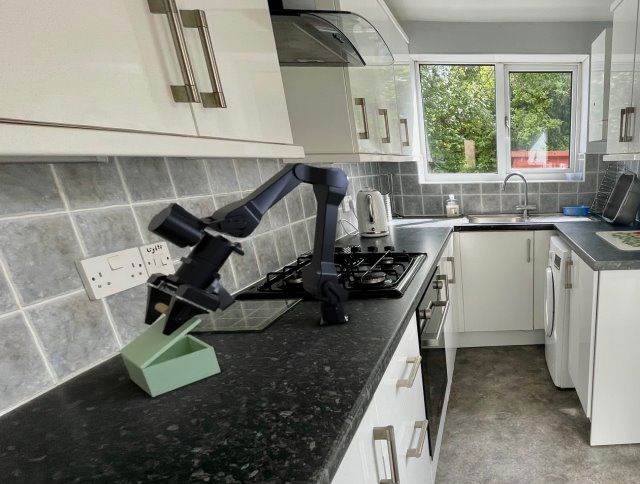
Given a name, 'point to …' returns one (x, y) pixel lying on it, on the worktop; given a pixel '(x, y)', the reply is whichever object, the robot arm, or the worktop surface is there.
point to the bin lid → (155, 340)
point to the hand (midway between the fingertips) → (156, 329)
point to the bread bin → (175, 366)
